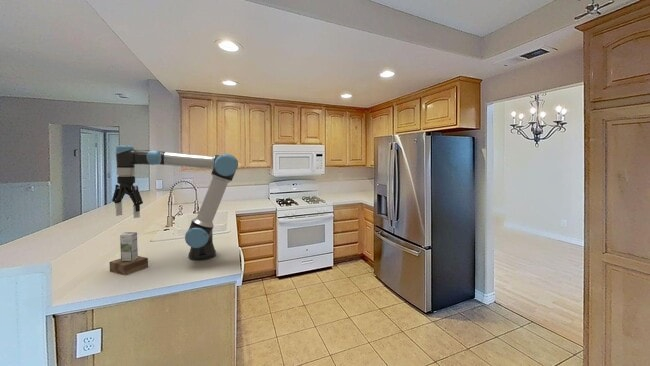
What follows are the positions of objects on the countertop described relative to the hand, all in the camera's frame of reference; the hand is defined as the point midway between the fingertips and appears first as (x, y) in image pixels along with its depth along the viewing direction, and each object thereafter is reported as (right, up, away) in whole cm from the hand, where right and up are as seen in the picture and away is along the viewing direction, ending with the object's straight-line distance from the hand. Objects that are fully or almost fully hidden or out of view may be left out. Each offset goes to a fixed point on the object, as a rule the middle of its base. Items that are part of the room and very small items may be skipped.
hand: (127, 216), depth 144 cm
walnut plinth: (-1, -28, +2) cm, 28 cm away
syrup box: (0, -23, +2) cm, 23 cm away
